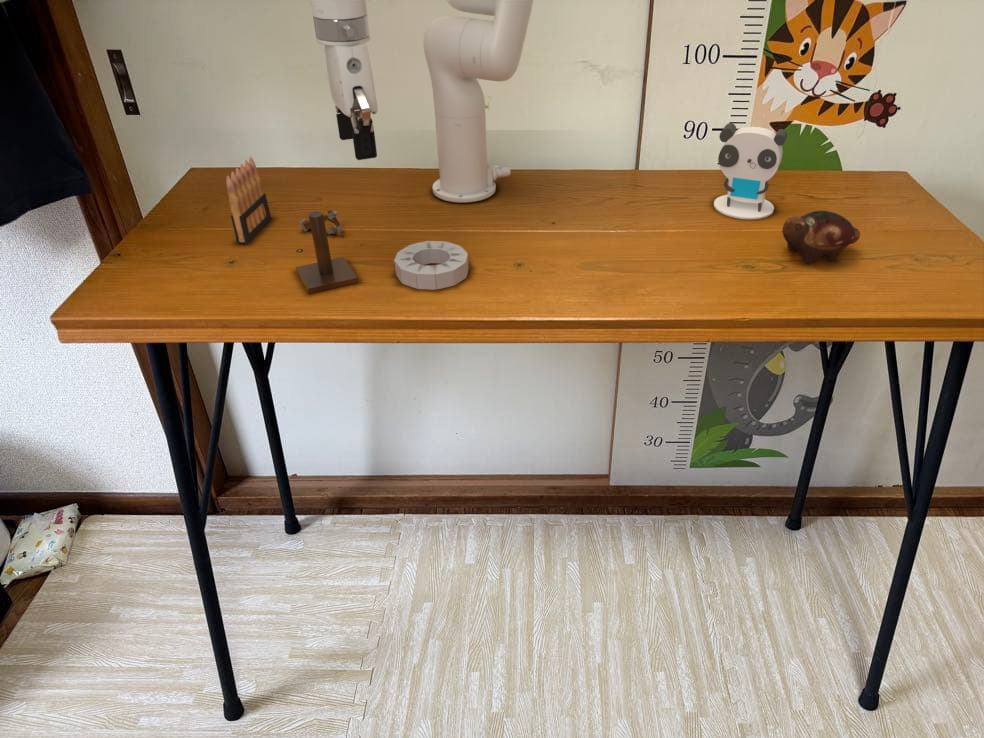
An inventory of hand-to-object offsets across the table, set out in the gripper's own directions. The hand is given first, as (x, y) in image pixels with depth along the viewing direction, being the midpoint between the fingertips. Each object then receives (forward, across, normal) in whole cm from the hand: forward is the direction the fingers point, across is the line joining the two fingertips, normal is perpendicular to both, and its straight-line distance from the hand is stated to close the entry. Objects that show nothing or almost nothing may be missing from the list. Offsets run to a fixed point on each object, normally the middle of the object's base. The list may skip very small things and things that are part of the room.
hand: (358, 148), depth 120 cm
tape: (+18, -10, -7) cm, 22 cm away
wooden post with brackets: (+19, +12, +5) cm, 23 cm away
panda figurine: (+18, -10, -70) cm, 73 cm away
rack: (+18, -5, +9) cm, 21 cm away
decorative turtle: (+18, -32, -69) cm, 78 cm away
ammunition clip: (+19, +18, +17) cm, 31 cm away
